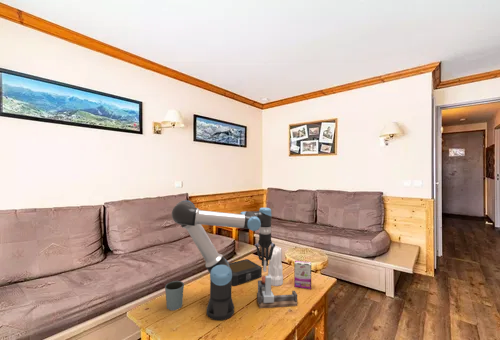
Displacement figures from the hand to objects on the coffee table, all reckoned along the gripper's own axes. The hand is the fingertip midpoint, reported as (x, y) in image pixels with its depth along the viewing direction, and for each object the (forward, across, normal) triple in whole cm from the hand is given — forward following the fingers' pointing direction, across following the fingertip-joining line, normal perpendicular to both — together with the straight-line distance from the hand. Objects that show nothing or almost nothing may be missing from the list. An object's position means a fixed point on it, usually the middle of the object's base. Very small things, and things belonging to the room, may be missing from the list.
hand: (264, 270), depth 145 cm
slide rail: (+15, +6, -9) cm, 19 cm away
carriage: (+13, 0, -9) cm, 16 cm away
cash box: (+16, -12, +27) cm, 33 cm away
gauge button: (+7, 0, 0) cm, 7 cm away
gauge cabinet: (+15, 0, 0) cm, 15 cm away
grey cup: (+15, -53, -6) cm, 56 cm away
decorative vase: (+16, +11, +16) cm, 25 cm away
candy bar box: (+16, +28, +8) cm, 33 cm away
